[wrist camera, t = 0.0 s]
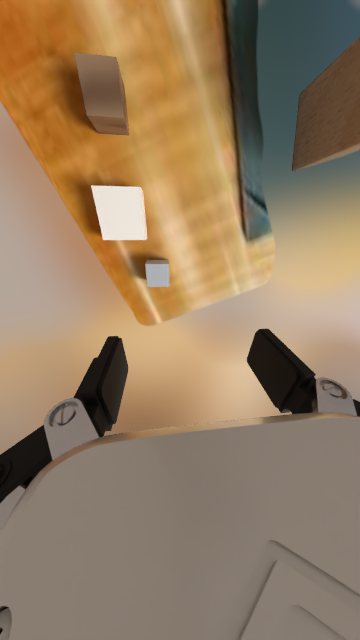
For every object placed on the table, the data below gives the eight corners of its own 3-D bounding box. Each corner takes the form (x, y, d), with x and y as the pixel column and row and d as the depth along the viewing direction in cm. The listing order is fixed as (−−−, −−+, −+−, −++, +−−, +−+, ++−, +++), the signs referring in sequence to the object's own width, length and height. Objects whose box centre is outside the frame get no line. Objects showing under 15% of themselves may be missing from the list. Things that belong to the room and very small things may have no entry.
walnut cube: (90, 84, 23) (74, 52, 19) (124, 87, 24) (116, 57, 19) (98, 133, 26) (86, 115, 22) (129, 135, 26) (123, 118, 22)
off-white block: (101, 191, 30) (90, 185, 25) (143, 192, 30) (140, 186, 26) (110, 238, 34) (103, 239, 30) (147, 238, 35) (145, 239, 30)
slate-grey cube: (147, 259, 37) (145, 264, 32) (168, 259, 37) (168, 263, 33) (148, 280, 39) (147, 286, 35) (168, 280, 40) (169, 286, 36)
